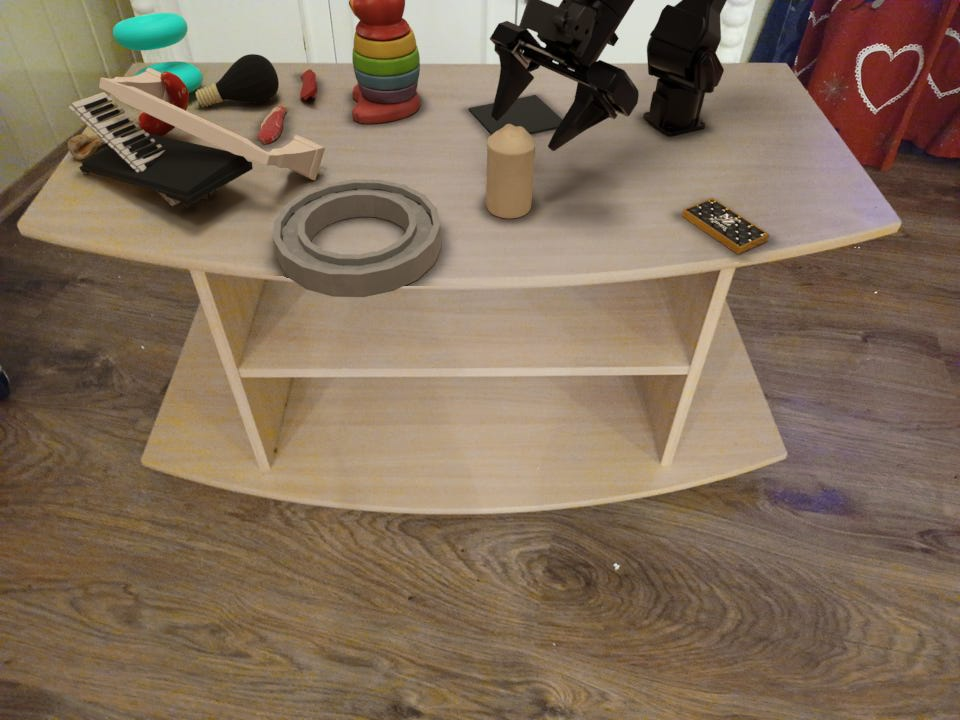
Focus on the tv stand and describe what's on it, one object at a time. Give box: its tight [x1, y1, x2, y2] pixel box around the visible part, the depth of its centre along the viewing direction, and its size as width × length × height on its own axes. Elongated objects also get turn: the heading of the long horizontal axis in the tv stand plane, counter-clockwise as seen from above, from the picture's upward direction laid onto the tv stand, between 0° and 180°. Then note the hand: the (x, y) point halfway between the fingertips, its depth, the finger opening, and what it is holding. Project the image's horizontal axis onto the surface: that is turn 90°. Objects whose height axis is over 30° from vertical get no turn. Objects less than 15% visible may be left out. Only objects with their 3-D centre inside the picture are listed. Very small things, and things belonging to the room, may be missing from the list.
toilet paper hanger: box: [98, 68, 326, 181], centre depth 89 cm, size 26×10×4 cm, turn 66°
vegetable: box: [136, 71, 190, 137], centre depth 96 cm, size 4×5×12 cm
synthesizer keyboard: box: [68, 91, 254, 209], centre depth 89 cm, size 22×10×10 cm, turn 56°
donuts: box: [112, 12, 204, 94], centre depth 105 cm, size 10×10×10 cm
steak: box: [256, 104, 287, 145], centre depth 102 cm, size 10×1×3 cm
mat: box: [468, 94, 563, 136], centre depth 105 cm, size 11×10×1 cm
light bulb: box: [195, 53, 280, 108], centre depth 105 cm, size 7×7×12 cm
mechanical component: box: [272, 178, 442, 298], centre depth 82 cm, size 18×18×3 cm
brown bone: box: [67, 111, 143, 161], centre depth 100 cm, size 17×3×3 cm
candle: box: [485, 124, 537, 219], centre depth 85 cm, size 6×6×10 cm
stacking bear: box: [348, 0, 421, 125], centre depth 101 cm, size 11×10×18 cm
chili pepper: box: [299, 69, 318, 101], centre depth 109 cm, size 12×5×2 cm
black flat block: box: [681, 197, 770, 255], centre depth 86 cm, size 9×1×5 cm
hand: (521, 133), depth 83 cm, fingers open, 9 cm apart
